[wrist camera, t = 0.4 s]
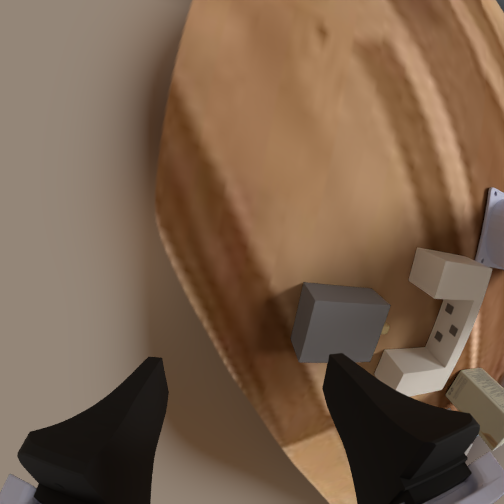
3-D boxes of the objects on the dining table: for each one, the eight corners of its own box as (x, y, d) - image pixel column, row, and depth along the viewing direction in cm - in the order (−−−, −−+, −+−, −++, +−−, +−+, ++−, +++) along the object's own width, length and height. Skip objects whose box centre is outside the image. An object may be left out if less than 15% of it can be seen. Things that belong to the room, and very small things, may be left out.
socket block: (465, 256, 22) (492, 269, 18) (423, 368, 25) (442, 389, 21) (417, 247, 21) (445, 260, 17) (374, 374, 24) (390, 399, 20)
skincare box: (443, 395, 27) (489, 453, 15) (459, 368, 26) (513, 425, 14) (467, 391, 28) (511, 440, 16) (483, 366, 27) (531, 414, 15)
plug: (382, 288, 22) (403, 305, 19) (365, 339, 23) (382, 361, 20) (302, 281, 21) (315, 300, 18) (289, 337, 23) (299, 362, 19)
